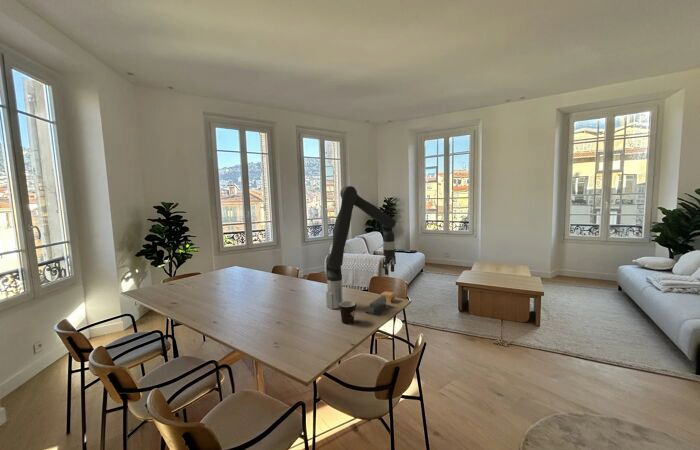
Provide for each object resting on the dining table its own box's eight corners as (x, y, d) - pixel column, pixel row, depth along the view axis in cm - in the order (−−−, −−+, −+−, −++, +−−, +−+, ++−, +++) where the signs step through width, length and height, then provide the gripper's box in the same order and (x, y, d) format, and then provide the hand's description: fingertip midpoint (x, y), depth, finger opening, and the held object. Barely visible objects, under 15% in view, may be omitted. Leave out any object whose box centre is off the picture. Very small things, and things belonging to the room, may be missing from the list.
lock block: (394, 300, 198) (394, 292, 198) (390, 303, 193) (390, 295, 193) (385, 298, 202) (385, 291, 202) (380, 301, 197) (380, 293, 196)
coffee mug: (344, 326, 160) (343, 307, 159) (337, 320, 168) (336, 303, 167) (363, 321, 165) (363, 303, 164) (355, 316, 173) (355, 299, 172)
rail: (379, 315, 173) (378, 305, 173) (365, 312, 178) (365, 302, 177) (390, 306, 187) (390, 297, 186) (377, 304, 191) (377, 295, 191)
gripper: (388, 246, 202) (389, 270, 203) (378, 249, 190) (379, 275, 191) (399, 246, 197) (399, 271, 199) (389, 250, 186) (390, 276, 187)
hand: (389, 273), depth 195 cm, fingers open, 8 cm apart
